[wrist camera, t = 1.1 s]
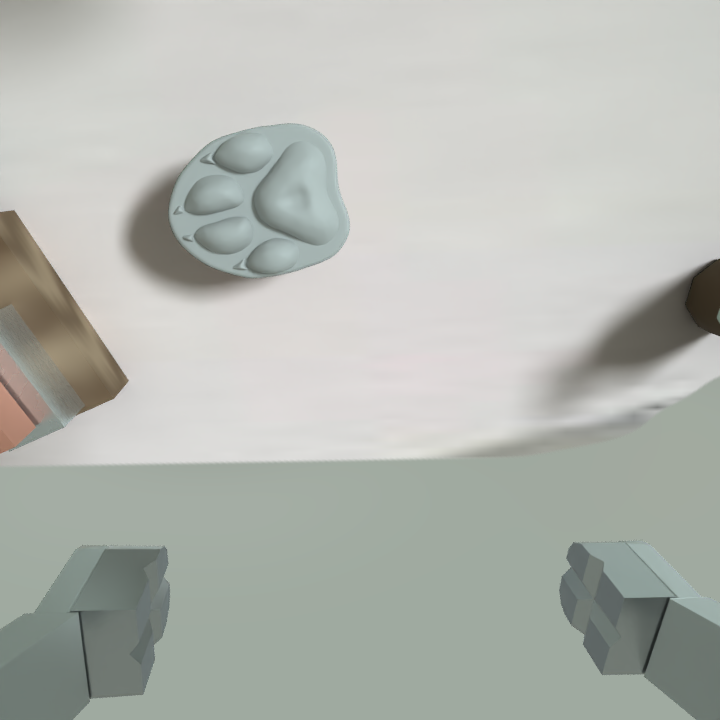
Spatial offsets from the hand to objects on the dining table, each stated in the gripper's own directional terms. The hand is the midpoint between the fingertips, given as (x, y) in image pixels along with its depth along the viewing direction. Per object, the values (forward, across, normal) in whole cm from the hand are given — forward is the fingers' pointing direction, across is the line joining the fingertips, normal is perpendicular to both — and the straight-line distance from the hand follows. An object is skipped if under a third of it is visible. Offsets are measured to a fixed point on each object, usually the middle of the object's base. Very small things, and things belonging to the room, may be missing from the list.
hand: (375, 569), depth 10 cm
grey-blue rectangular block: (+34, +25, +9) cm, 43 cm away
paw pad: (+38, +5, -6) cm, 39 cm away
